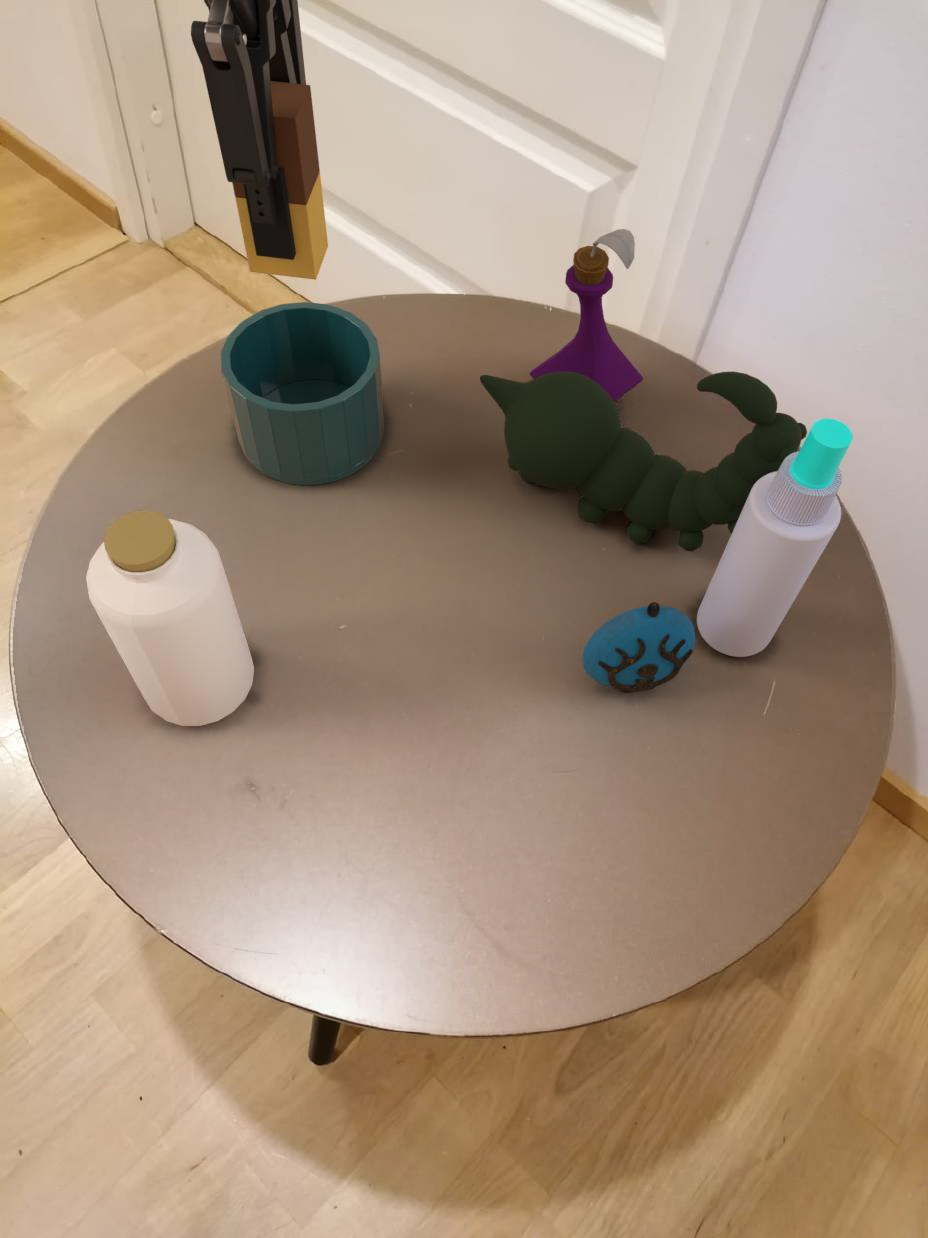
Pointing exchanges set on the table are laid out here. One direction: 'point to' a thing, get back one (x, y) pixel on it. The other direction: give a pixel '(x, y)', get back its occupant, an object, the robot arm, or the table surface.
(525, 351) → the table surface
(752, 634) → the spray bottle
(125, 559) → the white plastic cylinder
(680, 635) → the ornament
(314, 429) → the teal hollow cylinder
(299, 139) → the sponge
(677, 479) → the toy figurine
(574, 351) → the perfume bottle
